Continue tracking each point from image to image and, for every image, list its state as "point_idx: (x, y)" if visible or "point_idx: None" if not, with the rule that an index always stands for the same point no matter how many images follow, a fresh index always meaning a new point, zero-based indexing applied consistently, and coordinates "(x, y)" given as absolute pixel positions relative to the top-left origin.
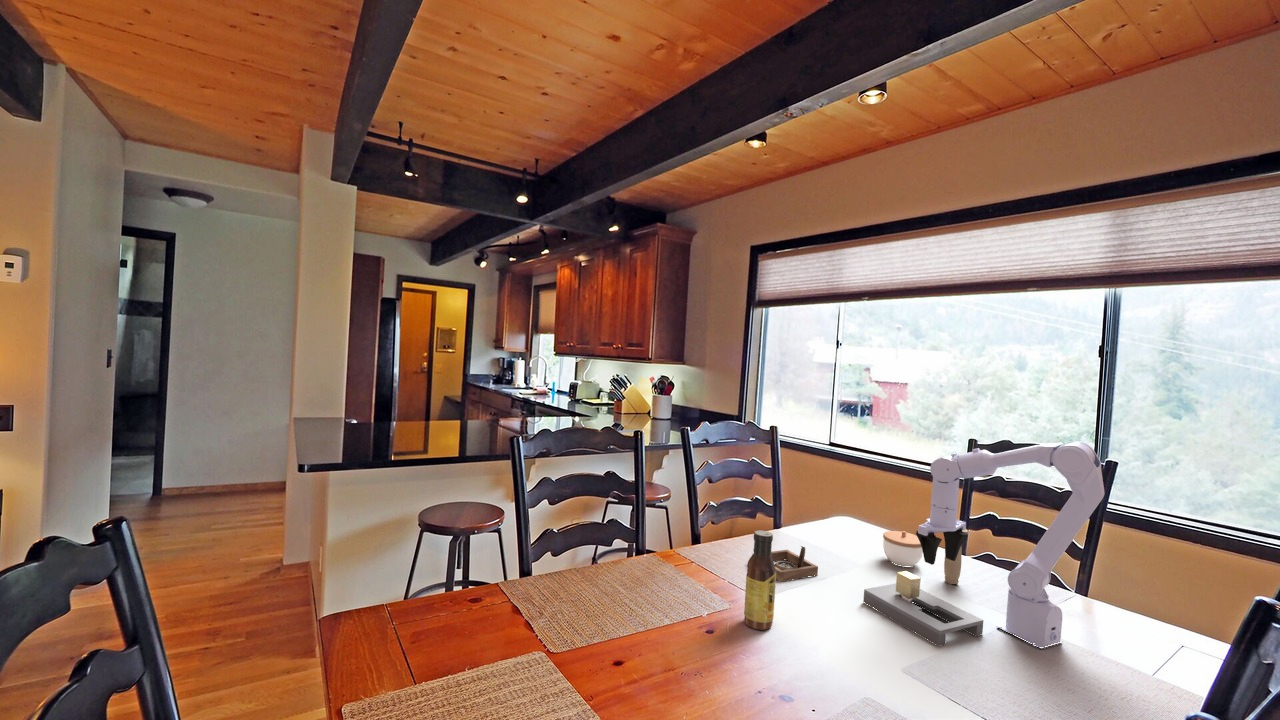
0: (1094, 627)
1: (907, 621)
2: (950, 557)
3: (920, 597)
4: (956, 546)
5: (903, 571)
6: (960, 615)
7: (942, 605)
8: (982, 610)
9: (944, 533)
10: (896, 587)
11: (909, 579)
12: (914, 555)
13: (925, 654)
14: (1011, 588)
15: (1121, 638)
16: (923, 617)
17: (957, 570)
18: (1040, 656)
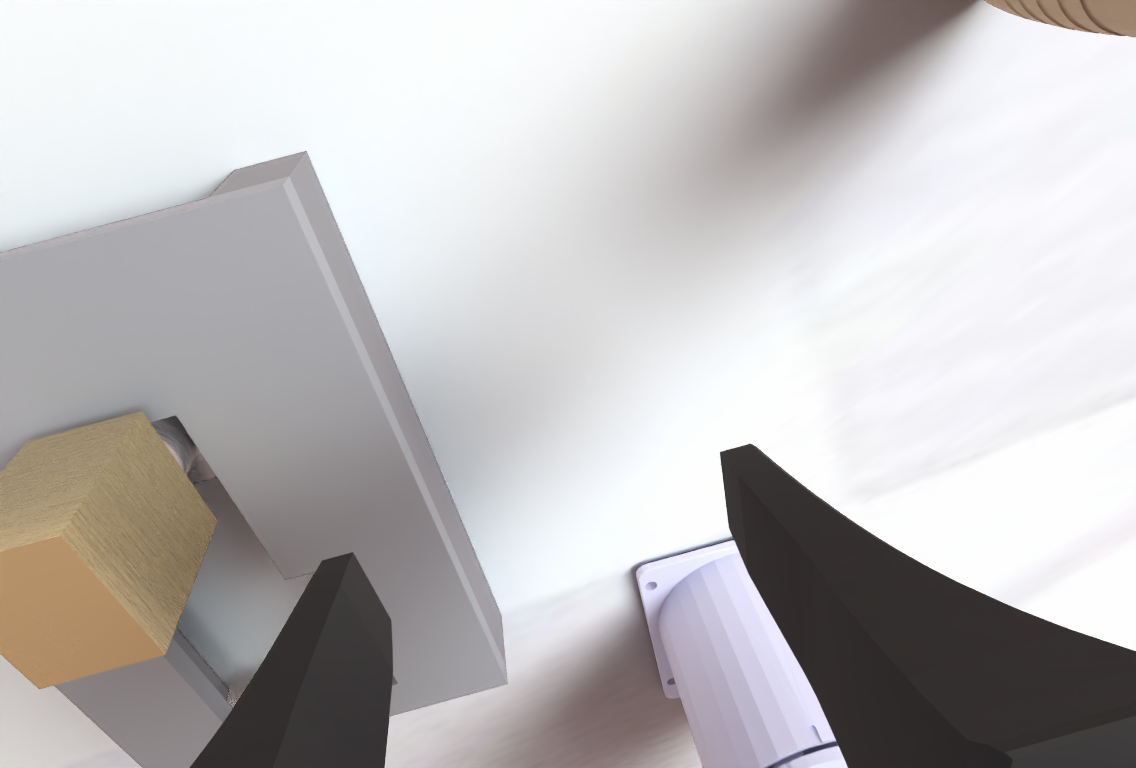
0: (1129, 537)
1: None
2: (737, 517)
3: (259, 475)
4: (826, 703)
5: (17, 550)
6: (402, 657)
7: (365, 569)
8: (752, 400)
9: (915, 701)
10: (12, 468)
11: (30, 665)
12: None
13: (75, 749)
14: None
15: (1111, 602)
16: (125, 691)
17: (1068, 27)
18: (619, 717)
